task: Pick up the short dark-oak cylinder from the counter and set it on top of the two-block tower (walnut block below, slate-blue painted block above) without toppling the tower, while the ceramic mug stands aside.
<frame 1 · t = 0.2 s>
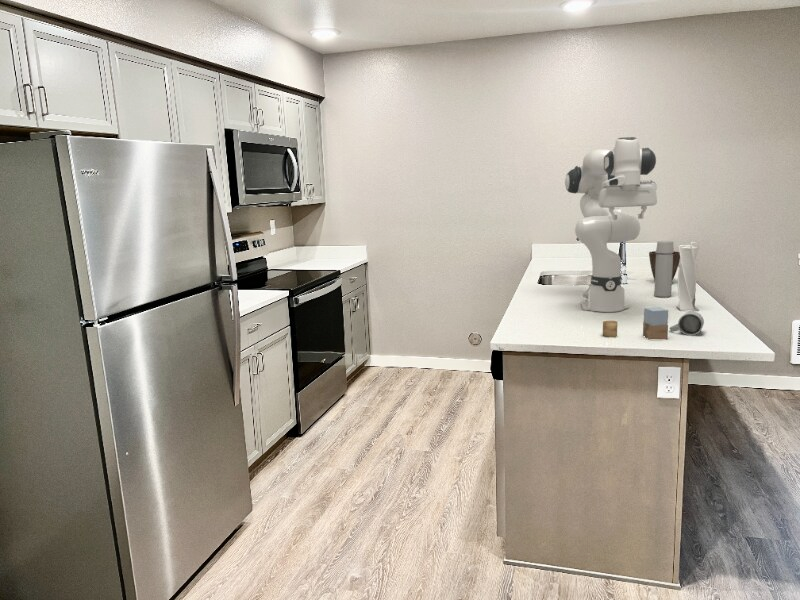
hand: (627, 219, 221), 39 cm above the countertop, tool pointing down, fingers open, 8 cm apart
plant pot: (663, 283, 306), on the countertop
walnut base block: (654, 337, 204), on the countertop, touching slate upper block
ceramic mug: (686, 333, 209), on the countertop
skyscraper: (686, 310, 244), on the countertop
oak cylinder: (609, 335, 208), on the countertop
slate upper block: (655, 323, 203), point 5 cm above the countertop, touching walnut base block
water bottle: (661, 296, 274), on the countertop
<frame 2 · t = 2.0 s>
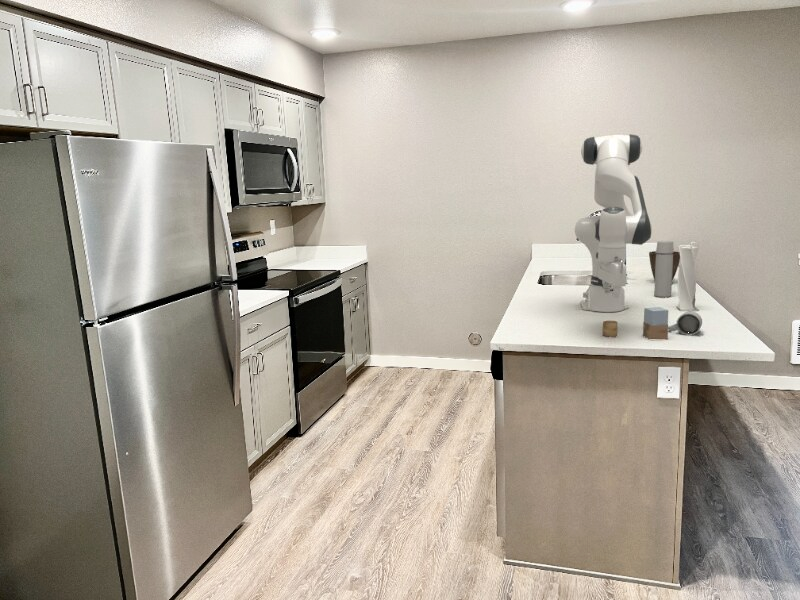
hand: (611, 295, 206), 14 cm above the countertop, tool pointing down, fingers open, 8 cm apart
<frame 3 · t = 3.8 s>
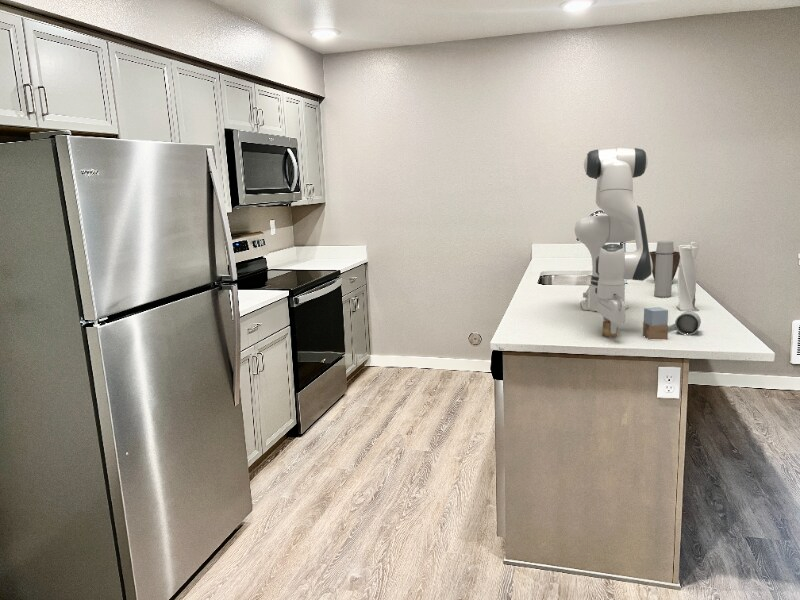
hand: (609, 330, 208), 2 cm above the countertop, tool pointing down, fingers closed on oak cylinder, 5 cm apart
oak cylinder: (609, 335, 208), on the countertop, touching gripper
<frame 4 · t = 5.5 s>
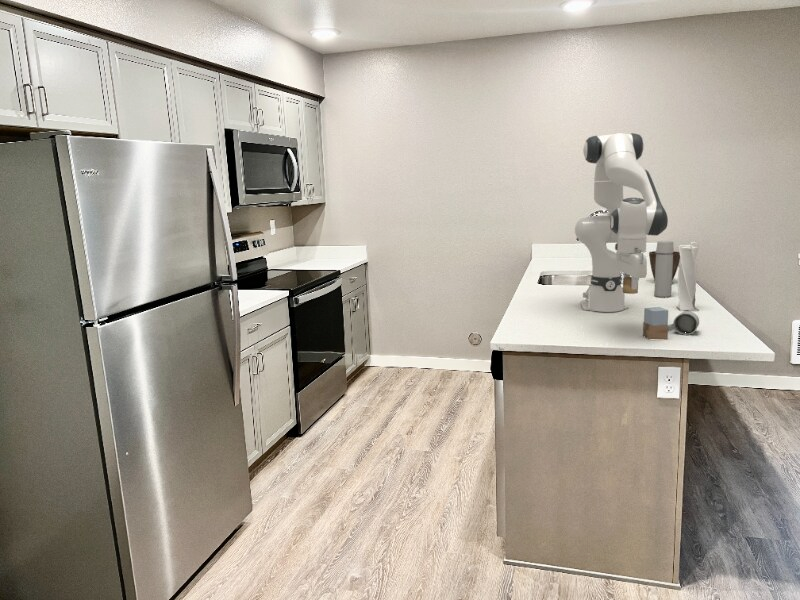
hand: (630, 287, 203), 17 cm above the countertop, tool pointing down, fingers closed on oak cylinder, 5 cm apart
oak cylinder: (630, 292, 203), point 15 cm above the countertop, touching gripper
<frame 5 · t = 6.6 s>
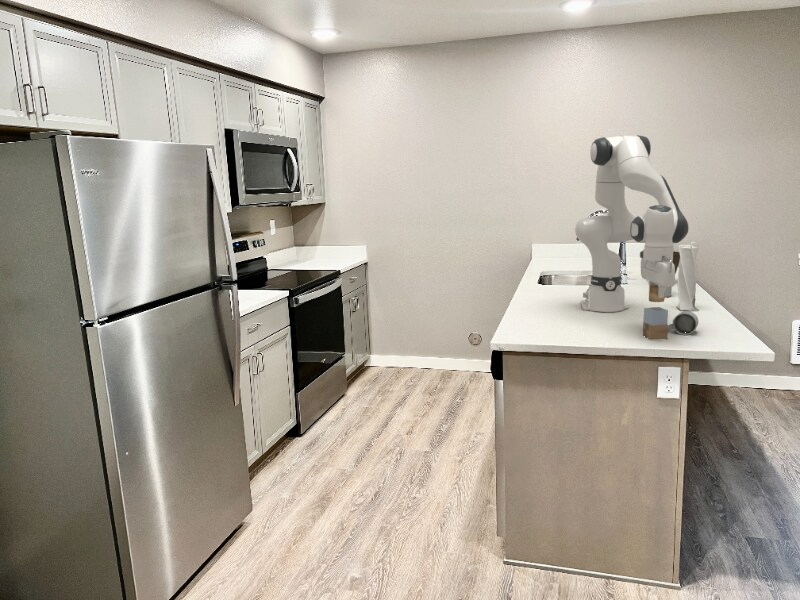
hand: (656, 295, 201), 14 cm above the countertop, tool pointing down, fingers closed on oak cylinder, 5 cm apart
oak cylinder: (656, 300, 202), point 13 cm above the countertop, touching gripper
when the fingers open (12 cm above the countertop, at t = 7.4 s): oak cylinder stays where it is, resting on slate upper block.
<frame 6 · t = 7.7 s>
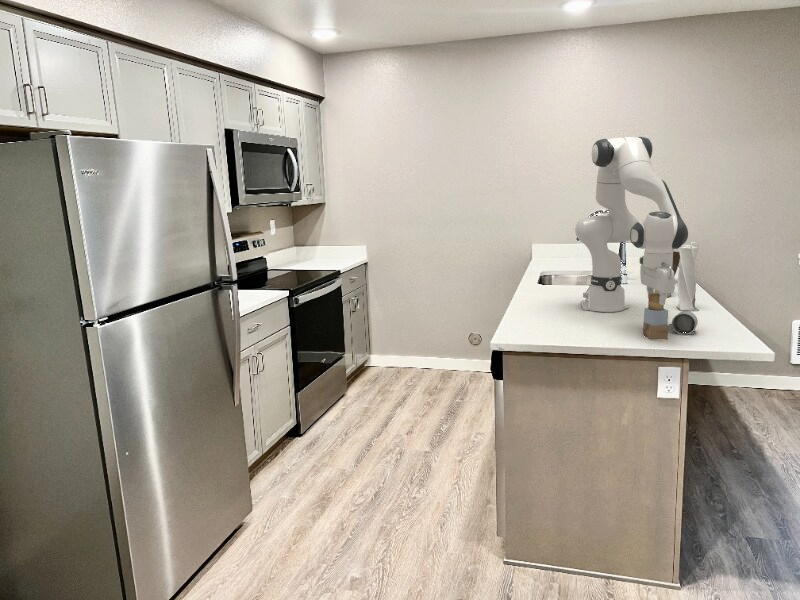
hand: (656, 301, 202), 12 cm above the countertop, tool pointing down, fingers open, 8 cm apart
oak cylinder: (655, 308, 202), point 10 cm above the countertop, touching slate upper block
slate upper block: (655, 323, 203), point 5 cm above the countertop, touching oak cylinder, walnut base block
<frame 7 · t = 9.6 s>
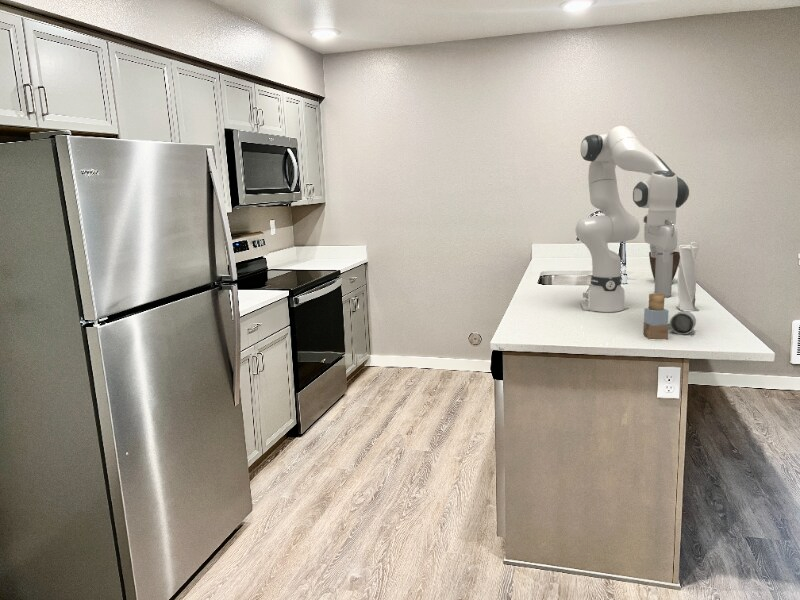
hand: (659, 259, 207), 26 cm above the countertop, tool pointing down, fingers open, 8 cm apart
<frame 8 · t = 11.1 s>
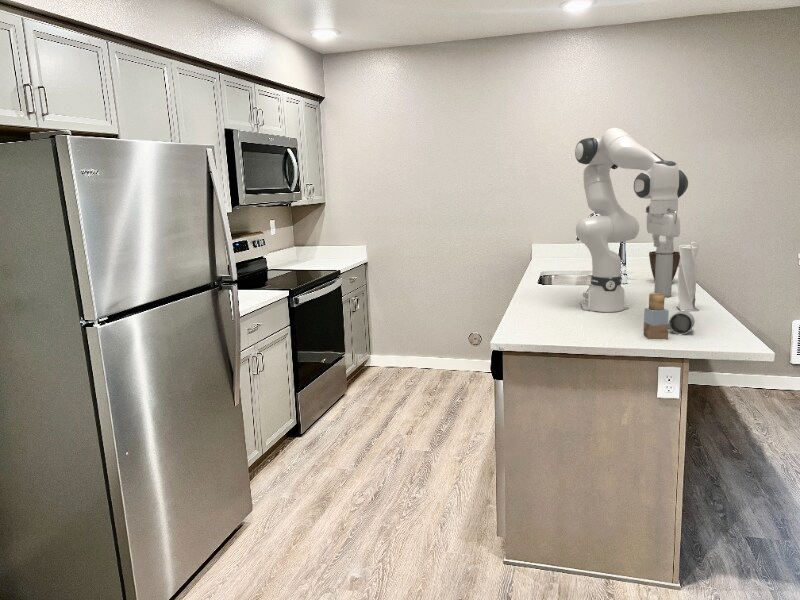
hand: (662, 248, 210), 29 cm above the countertop, tool pointing down, fingers open, 8 cm apart
walnut base block: (655, 337, 204), on the countertop
slate upper block: (655, 323, 203), point 5 cm above the countertop, touching oak cylinder
at the end: oak cylinder 0.1 cm off-centre on the slate upper block, point 5.0 cm above the slate upper block's base; slate upper block tilted 0°; walnut base block moved 0.2 cm from its start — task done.
